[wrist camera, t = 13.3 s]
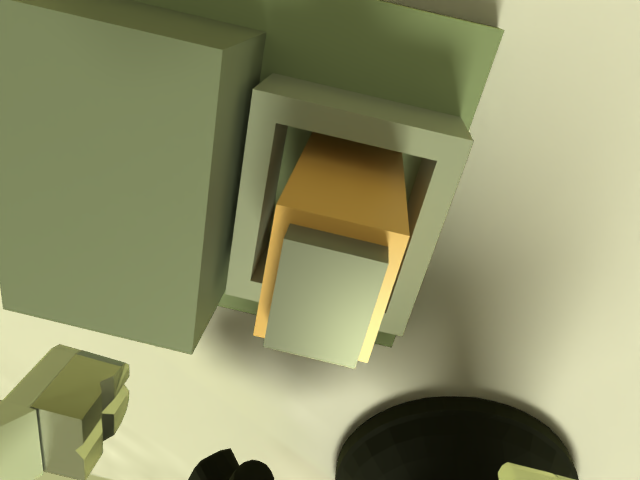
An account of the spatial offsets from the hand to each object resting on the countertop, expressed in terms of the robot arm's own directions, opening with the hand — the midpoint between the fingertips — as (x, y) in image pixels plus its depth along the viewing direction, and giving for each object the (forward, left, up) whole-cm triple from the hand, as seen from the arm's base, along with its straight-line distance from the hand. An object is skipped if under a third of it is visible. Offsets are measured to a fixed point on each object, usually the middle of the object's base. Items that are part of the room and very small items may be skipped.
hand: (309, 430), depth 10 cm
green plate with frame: (+5, 0, -15) cm, 16 cm away
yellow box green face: (0, 0, -14) cm, 14 cm away
